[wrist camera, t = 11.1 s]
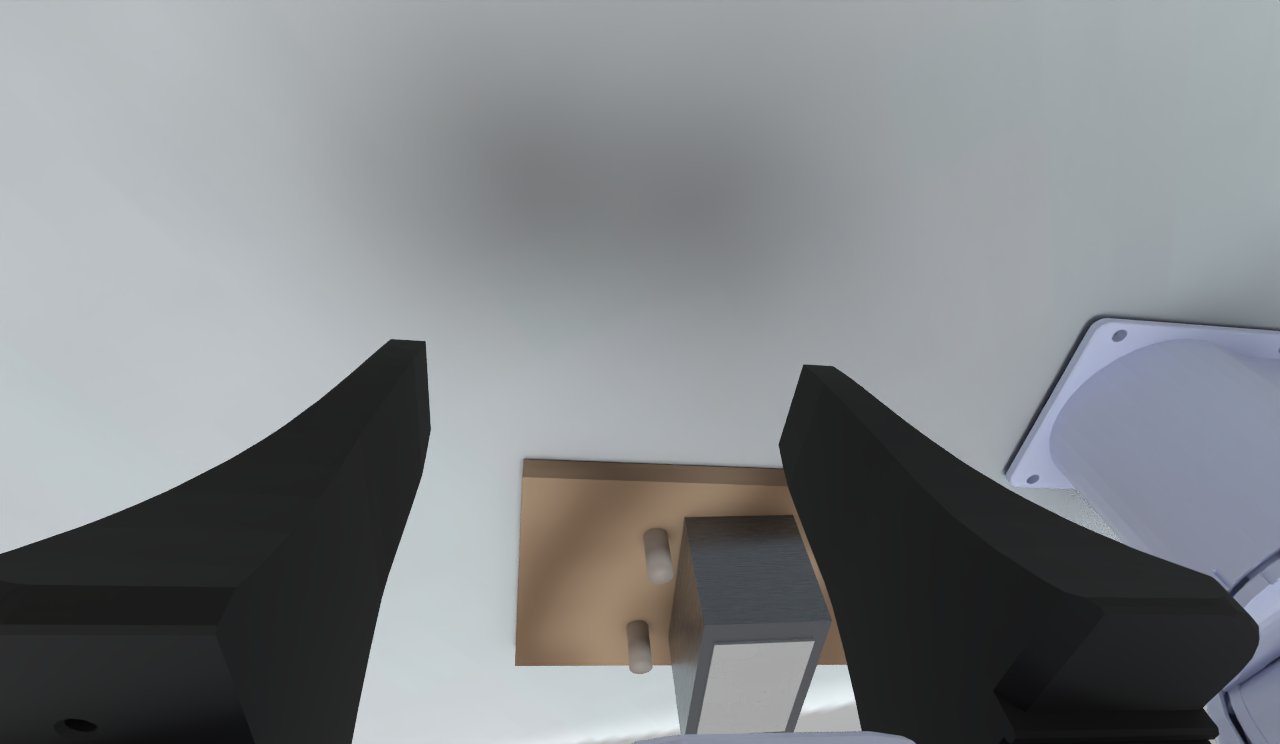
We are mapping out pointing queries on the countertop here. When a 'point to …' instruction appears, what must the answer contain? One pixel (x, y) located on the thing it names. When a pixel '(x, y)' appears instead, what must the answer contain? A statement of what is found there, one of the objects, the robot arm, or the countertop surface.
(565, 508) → the pin tray
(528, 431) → the countertop surface
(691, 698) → the block
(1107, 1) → the countertop surface
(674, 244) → the countertop surface
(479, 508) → the countertop surface
